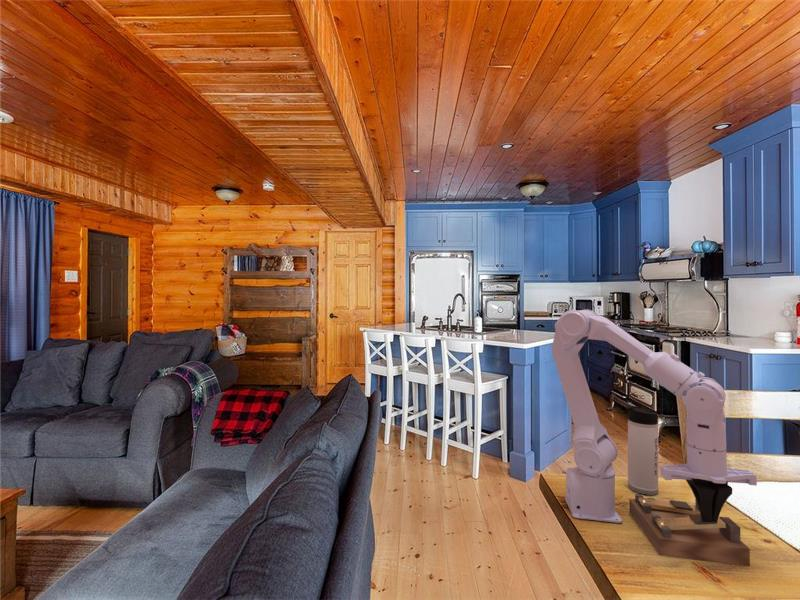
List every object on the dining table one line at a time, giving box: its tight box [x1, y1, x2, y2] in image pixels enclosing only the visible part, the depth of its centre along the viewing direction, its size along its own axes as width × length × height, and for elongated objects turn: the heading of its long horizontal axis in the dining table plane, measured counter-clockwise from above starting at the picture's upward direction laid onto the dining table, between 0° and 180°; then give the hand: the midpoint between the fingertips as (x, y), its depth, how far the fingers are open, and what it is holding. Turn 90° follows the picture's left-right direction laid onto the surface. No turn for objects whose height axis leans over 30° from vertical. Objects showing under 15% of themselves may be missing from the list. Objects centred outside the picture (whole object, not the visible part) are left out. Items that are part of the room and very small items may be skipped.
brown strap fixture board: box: [628, 493, 751, 567], centre depth 74 cm, size 14×14×6 cm
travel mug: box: [626, 405, 659, 496], centre depth 93 cm, size 6×7×20 cm
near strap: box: [655, 514, 726, 530], centre depth 70 cm, size 10×3×1 cm, turn 78°
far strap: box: [638, 497, 700, 515], centre depth 78 cm, size 10×3×1 cm, turn 78°
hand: (708, 520), depth 70 cm, fingers closed, pressing on near strap
